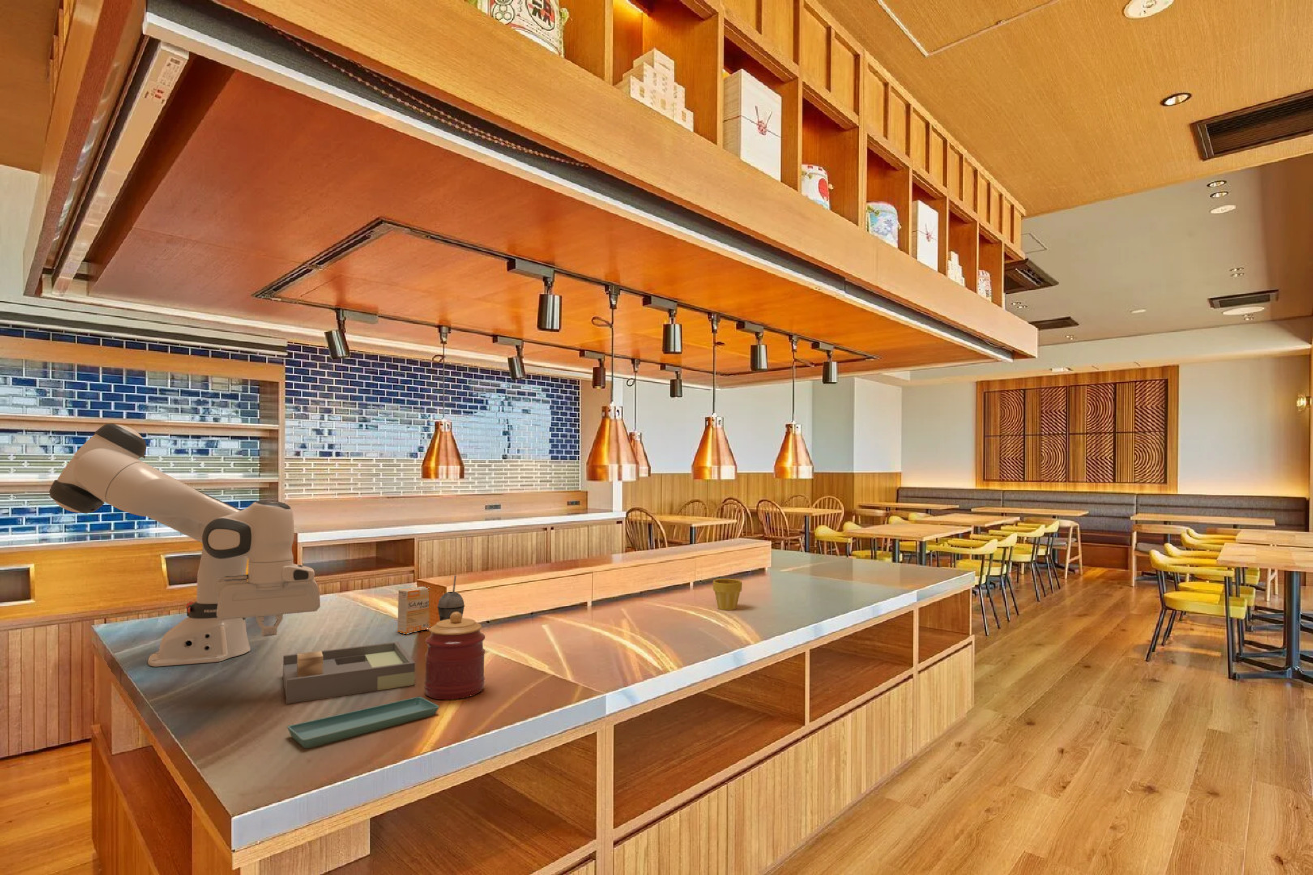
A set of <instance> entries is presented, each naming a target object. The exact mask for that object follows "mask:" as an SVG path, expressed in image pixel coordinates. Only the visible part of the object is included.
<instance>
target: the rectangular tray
mask: <svg viewBox="0 0 1313 875" xmlns="http://www.w3.org/2000/svg"><path fill="white" fill-rule="evenodd" d="M439 707H440V706H439V705H438V704H436V703H435V702H432V701H430V700H428V699H426V698H424V697H422V696H416V697H411V698H407V699H406V698H405V699H402V700H398V701H393V702H389V703H385V704H381V705H377V706H376V705H375V706H371V707H366V708H362V709H358V710H353V711H348V712H344V713H341V714H336V715H331V716H328V717H322V718H318V719H313V720H309V721H304V722H303V721H302V722H300V723H295V724H291V725H288V726H286V728H287V730H288V732H289V734H290V736H291V737H292V738H293V739H294V740H295V741H296V742H297V743H299V744H300V745H301V747H303V748H304V749H310V748H315V747H319V746H321V745H325V744H326V745H327V744H329V743H333V742H337V741H341V740H345V739H348V738H352V737H356V736H360V735H363V734H367V733H370V732H375V731H378V730H383V729H386V728H391V727H393V726H394V727H395V726H398V725H401V724H405V723H408V722H413V721H417V720H420V719H424V718H427V717H431V716H434V715H435V714H436V713H437V711H438V710H439Z"/></svg>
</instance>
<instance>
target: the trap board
mask: <svg viewBox="0 0 1313 875" xmlns="http://www.w3.org/2000/svg"><path fill="white" fill-rule="evenodd" d="M318 651H319V650H317V651H315V652H318ZM321 651H322V654H323V674H319V675H311V676H304V677H298V674H297V654H301V652H300V653H293V654H283V660H282V661H283V662H282V663H283V664H282V665H283V669H282V678H283V687H284V695H285V702H286V705H291V704H296V703H304V702H309V701H317V700H323V699H329V698H337V697H342V696H343V697H344V696H349V695H355V694H363V693H369V692H375V691H376V692H377V691H383V690H389V689H395V688H402V687H408V686H409V687H410V686H414V685H415V674H416V673H415V670H416V669H415V668H416V667H415V664H416V662H415V661H414V660H413V659H412V657H411V656H410V655H409V654H408V653H407V651H406V650H405V649H404V648H403V646H402V645H401V644H400V643H399V641H394V642H393V641H392V642H385V643H377V644H367V645H359V646H350V647H343V648H335V649H326V650H325V649H324V650H321ZM309 652H310V651H309ZM309 652H307V653H309Z"/></svg>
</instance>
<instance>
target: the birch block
mask: <svg viewBox="0 0 1313 875" xmlns="http://www.w3.org/2000/svg"><path fill="white" fill-rule="evenodd" d="M317 651H318V652H316V651H309V653H308V652H302V653H301V652H300V653H301V654H299V653H296V654H297V674H298V677H304V676H311V675H319V674H323V654H322V651H323V650H317Z"/></svg>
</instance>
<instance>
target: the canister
mask: <svg viewBox="0 0 1313 875" xmlns="http://www.w3.org/2000/svg"><path fill="white" fill-rule="evenodd" d="M481 629H483V628H482V624H480V623H478V622H477V621H476V620H474V619H473V618H463V615H461V613H459V612H453V613H452V614H451V616H450V619H447V620H442V621H440V620H439V621H437V622H436V623H435V624H434V625H432V626H431V627H429V632H430V633H431V634H430V635H429V636H427V637H426V638H425V641H424V642H425V643H426V645H427V652H426V653H425V654H424V657H425V658H424V659H425V681H424V690H425V695H426V696H428V697H429V698H431V699H435V700H445V701H446V700H447V701H449V700H460V699H459V698H461V699H464V698H463V697H466V698H468V697H467V696H470V695H473V696H475V695H474V694H476V695H478V694H479V693H478V692H480V691H481V690H482V689H483V690H484V686H485V682H486V681H485V654H486V650H485V648H484V641H485V639H486V635H485V634H484V633H483V632H482V631H480V630H481ZM483 690H482V691H483ZM482 691H481V692H482ZM481 692H480V693H481ZM477 693H478V694H477ZM470 697H471V696H470Z"/></svg>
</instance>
